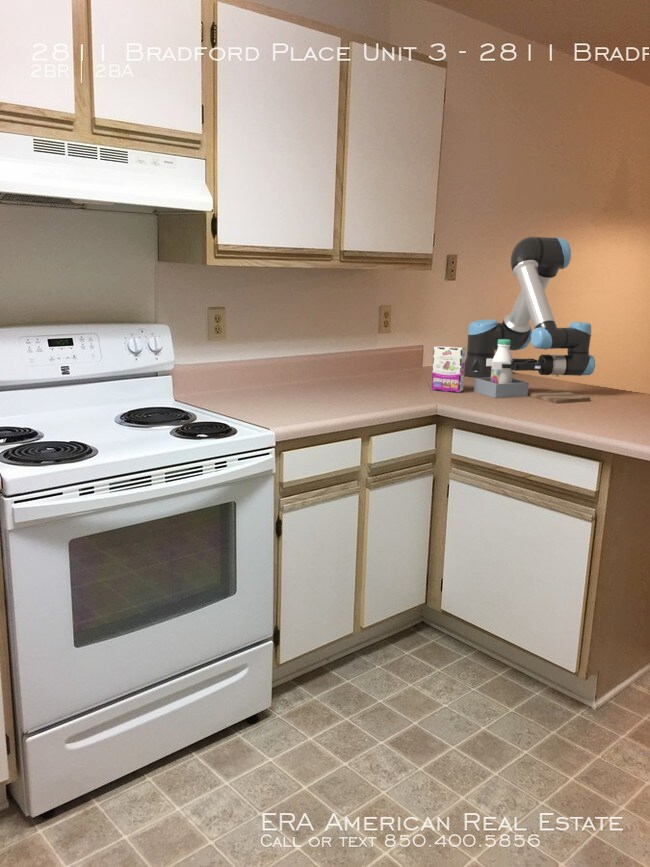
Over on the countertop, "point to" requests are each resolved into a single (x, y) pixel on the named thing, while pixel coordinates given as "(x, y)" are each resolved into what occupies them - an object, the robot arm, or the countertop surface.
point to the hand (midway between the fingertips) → (489, 363)
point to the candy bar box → (448, 369)
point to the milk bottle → (502, 356)
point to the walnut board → (559, 396)
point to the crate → (501, 388)
